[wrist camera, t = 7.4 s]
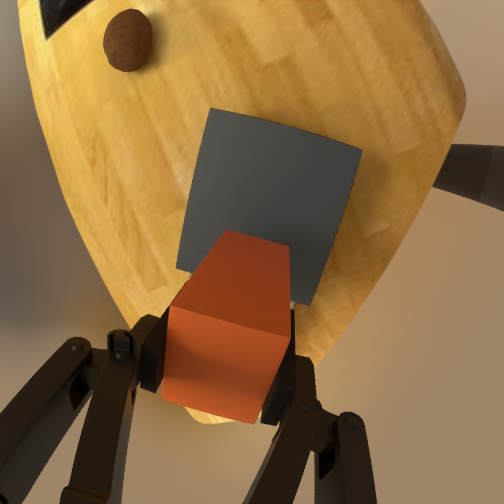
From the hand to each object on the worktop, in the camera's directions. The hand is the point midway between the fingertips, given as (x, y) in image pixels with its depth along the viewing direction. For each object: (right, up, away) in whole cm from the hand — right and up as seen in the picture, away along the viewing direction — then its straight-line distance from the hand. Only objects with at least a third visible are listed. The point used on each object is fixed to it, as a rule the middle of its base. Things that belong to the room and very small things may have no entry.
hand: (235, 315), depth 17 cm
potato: (-15, +32, +14) cm, 38 cm away
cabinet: (+3, +10, +19) cm, 22 cm away
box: (+1, +2, +6) cm, 7 cm away
